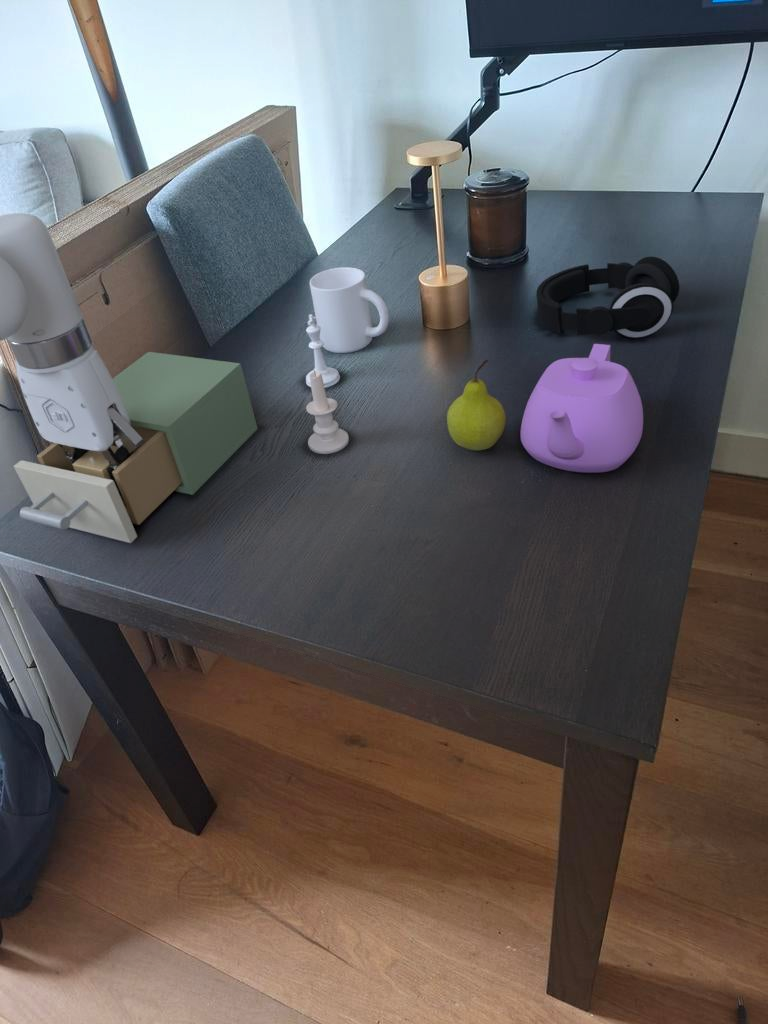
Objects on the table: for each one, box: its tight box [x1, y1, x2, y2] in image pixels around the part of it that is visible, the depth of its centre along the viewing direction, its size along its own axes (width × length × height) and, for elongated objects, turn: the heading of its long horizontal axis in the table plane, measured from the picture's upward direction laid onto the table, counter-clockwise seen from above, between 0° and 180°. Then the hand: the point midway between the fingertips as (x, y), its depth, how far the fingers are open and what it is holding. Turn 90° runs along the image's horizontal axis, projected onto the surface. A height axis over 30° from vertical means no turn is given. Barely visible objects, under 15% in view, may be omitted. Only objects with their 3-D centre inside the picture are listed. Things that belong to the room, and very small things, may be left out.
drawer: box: [13, 426, 183, 544], centre depth 87 cm, size 18×14×8 cm
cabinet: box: [112, 351, 259, 496], centre depth 96 cm, size 15×15×10 cm
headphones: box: [535, 255, 680, 339], centre depth 112 cm, size 18×8×20 cm
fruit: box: [446, 359, 507, 452], centre depth 88 cm, size 7×7×12 cm
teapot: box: [519, 343, 644, 473], centre depth 86 cm, size 13×20×11 cm
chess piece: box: [305, 314, 341, 389], centre depth 106 cm, size 5×5×10 cm
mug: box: [309, 266, 390, 354], centre depth 114 cm, size 12×8×10 cm
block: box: [72, 445, 122, 497], centre depth 88 cm, size 4×4×4 cm
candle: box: [305, 369, 350, 455], centre depth 93 cm, size 5×5×10 cm
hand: (111, 484), depth 89 cm, fingers closed on block, 4 cm apart
